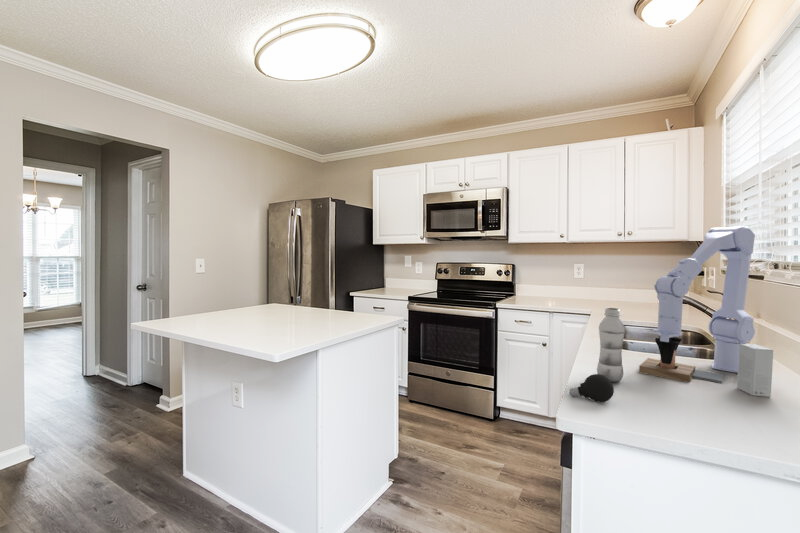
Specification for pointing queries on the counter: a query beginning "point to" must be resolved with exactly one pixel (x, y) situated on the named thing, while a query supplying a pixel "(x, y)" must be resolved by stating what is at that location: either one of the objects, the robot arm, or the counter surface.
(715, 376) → the rubber pad
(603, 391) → the light bulb
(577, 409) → the counter surface
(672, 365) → the peg
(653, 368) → the walnut holder
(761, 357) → the skincare box
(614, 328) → the plastic bottle
